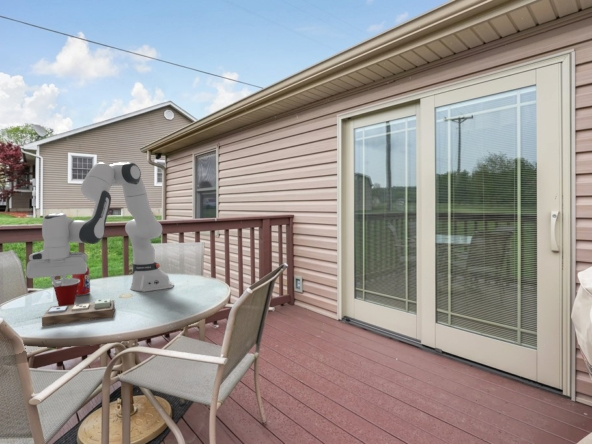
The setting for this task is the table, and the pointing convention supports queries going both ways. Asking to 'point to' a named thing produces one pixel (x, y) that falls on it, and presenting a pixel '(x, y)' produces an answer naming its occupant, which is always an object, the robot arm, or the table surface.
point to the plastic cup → (66, 291)
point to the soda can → (83, 283)
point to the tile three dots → (81, 307)
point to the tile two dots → (103, 303)
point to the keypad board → (78, 314)
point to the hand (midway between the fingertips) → (58, 286)
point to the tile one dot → (57, 309)
